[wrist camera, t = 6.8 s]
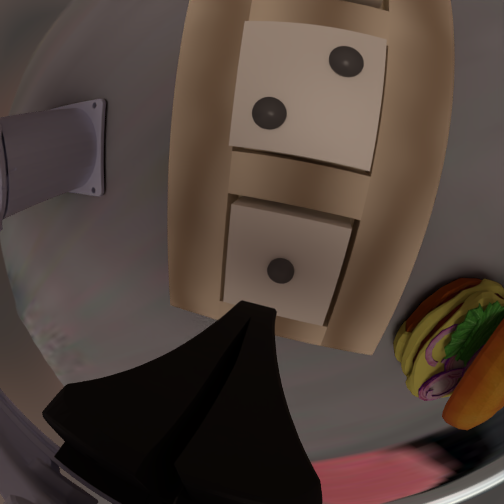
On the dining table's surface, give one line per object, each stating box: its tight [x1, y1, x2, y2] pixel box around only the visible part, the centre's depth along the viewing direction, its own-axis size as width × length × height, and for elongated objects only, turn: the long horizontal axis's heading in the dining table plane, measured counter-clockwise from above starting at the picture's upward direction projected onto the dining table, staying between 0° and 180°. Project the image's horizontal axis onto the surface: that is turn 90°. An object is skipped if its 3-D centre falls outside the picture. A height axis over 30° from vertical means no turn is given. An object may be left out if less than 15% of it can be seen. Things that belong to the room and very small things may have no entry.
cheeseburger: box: [393, 278, 504, 430], centre depth 13 cm, size 10×11×10 cm
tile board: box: [168, 0, 454, 355], centre depth 12 cm, size 14×28×3 cm, turn 173°
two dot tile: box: [229, 21, 387, 171], centre depth 10 cm, size 6×6×3 cm
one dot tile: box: [223, 196, 352, 326], centre depth 15 cm, size 6×6×3 cm
